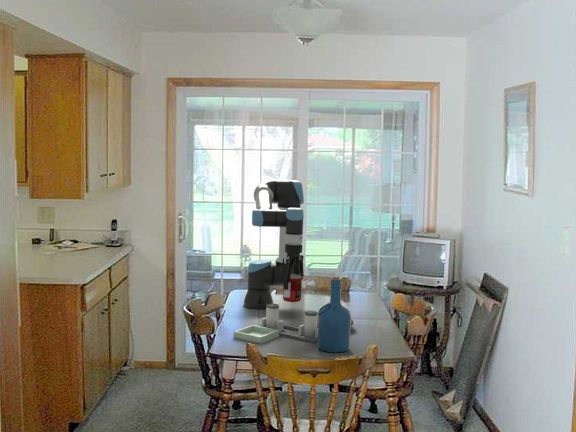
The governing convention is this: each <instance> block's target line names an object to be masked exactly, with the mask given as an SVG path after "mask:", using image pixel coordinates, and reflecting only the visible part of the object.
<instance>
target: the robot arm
mask: <svg viewBox="0 0 576 432" xmlns="http://www.w3.org/2000/svg"><path fill="white" fill-rule="evenodd" d="M253 199H254V201H255V209H253V210H251V225H252V226H253V227H258V228H260V227H266V228H267V227H269V228H270V227H271V228H274V227H276V228H279V234H278V235H279V237H278V238H279V239H278V257H277V258H276V259H275V262H272V260H271V259H258V260H253V261H251V262H249V264H248V267H247V290H246V293H245V297H244V299H243V307H245V308H248V309H253V310H254V309H255V310H266V307H267V304H274V300H273V296H272V292H271V286H272V287H283V282H284V297H290V285H291V282H289V281H290V277H291V274H298V275H301V276H302V280H303V279H304V275H305V273H304V271H305V270H304V255H303V254H302V253H303V239H304V238H303V233H304V231H303V230H304V217H305V216H304V209H303V208H301V206H302V205H304V201H305V199H304V189H303V183H302V182H301V181H299V180H293V179H291V180H290V179H269V180H265V181H263V182H261V183H259V185H257V186H256V187H255V189H254V191H253ZM273 204H276V205H277V208H278V209H273Z"/></svg>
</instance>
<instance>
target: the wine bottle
mask: <svg viewBox="0 0 576 432" xmlns="http://www.w3.org/2000/svg"><path fill="white" fill-rule="evenodd" d="M341 294H342V281H341V278H340V276H338V275H334V276H333V277H332V279H331V282H330V296H329V297H330V298H329V302H328V303H326V304H324V305H323V306H321V307H320V309H319V310H318V311H317V312H318V315H319V318H318V341H317V348H318V349H320V350H321V351H322V352H327V353H333V354H335V353H336V354H337V353H343V352H344V353H345V352H347V351H349V348H350V347H351V328H352V326H351V320H352V313H351V311H350V310H349V308H347V307H345V306H344V305H342V300H341V299H342V295H341Z"/></svg>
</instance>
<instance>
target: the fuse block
mask: <svg viewBox="0 0 576 432" xmlns="http://www.w3.org/2000/svg"><path fill="white" fill-rule="evenodd" d="M258 326H261V327H265V328H266V316H265V317H263V318H261V324H260V325H259V324H258ZM284 329H287V330H290V331H291V330H293V331H296V332H298V334H291V333H287V332H284ZM277 330H279V337H280V336H281V337H285V338H289V339H295V340H298V341H303V342H307V343H308V342H309V343H318V328H317V329H315V338H314V339H313V338H308V337H304V324H300V325H298V326H293V325H288V324H285V323H284V320H282V319H281V320H278V322H277Z"/></svg>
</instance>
